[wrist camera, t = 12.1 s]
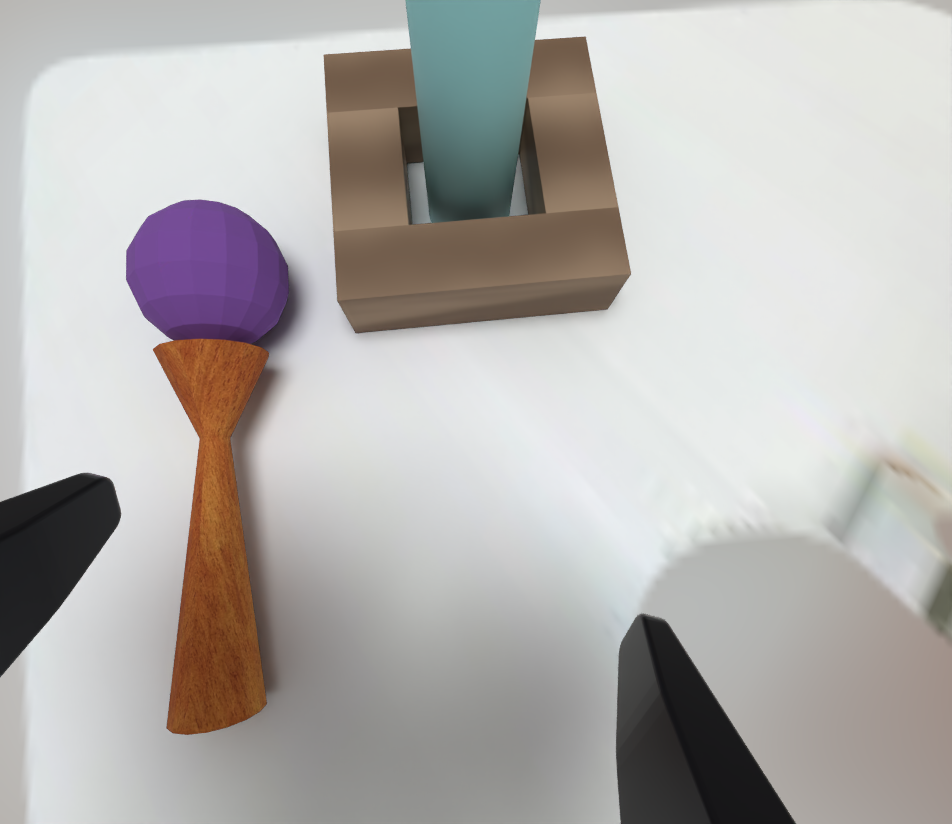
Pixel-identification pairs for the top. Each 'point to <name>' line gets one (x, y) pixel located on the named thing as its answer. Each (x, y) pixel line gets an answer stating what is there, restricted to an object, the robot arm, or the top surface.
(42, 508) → the robot arm
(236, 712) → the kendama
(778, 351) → the top surface
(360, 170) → the socket
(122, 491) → the top surface
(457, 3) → the peg
